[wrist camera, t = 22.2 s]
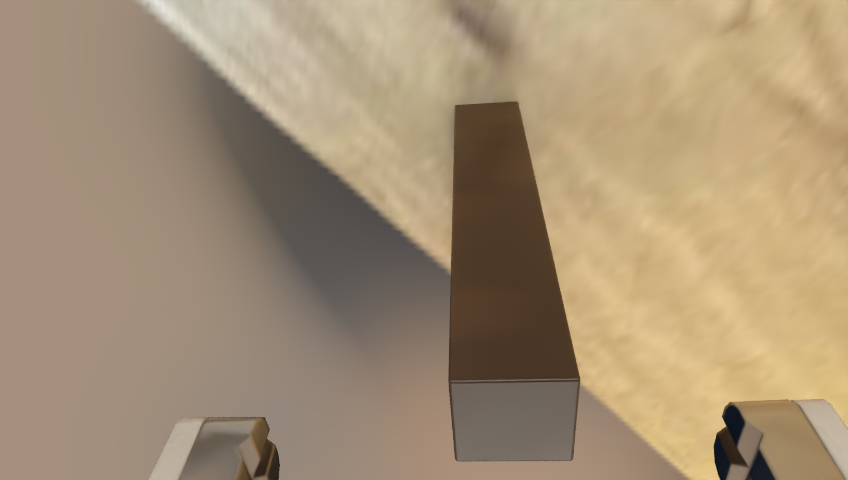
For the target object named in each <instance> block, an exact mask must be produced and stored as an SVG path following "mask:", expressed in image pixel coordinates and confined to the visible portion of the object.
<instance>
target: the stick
mask: <svg viewBox="0 0 848 480" xmlns="http://www.w3.org/2000/svg"><path fill="white" fill-rule="evenodd" d="M449 341H450V342H449V393H450V405H451V416H452V428H453V440H454V451H455V459H456V461H571V460H572V459H573V453H574V442H575V431H576V420H577V410H578V399H579V388H580V376H579V371H578V367H577V362H576V358H575V353H574V349H573V344H572V340H571V336H570V331H569V327H568V322H567V318H566V313H565V309H564V304H563V300H562V296H561V291H560V287H559V282H558V278H557V273H556V269H555V264H554V260H553V256H552V251H551V247H550V242H549V238H548V233H547V229H546V224H545V220H544V216H543V211H542V207H541V202H540V198H539V193H538V189H537V184H536V180H535V176H534V171H533V167H532V162H531V158H530V153H529V149H528V144H527V140H526V136H525V131H524V127H523V122H522V118H521V113H520V109H519V104H518V102H502V103H485V104H469V105H456V106H455V124H454V167H453V210H452V253H451V297H450V339H449Z"/></svg>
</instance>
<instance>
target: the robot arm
mask: <svg viewBox="0 0 848 480" xmlns="http://www.w3.org/2000/svg"><path fill="white" fill-rule="evenodd" d="M722 417H723V419H724V422H725V424H726V427H725V428H723V429H722V430H721V431H719V432H718V433H717V435H716V439H715V443H714V457H715V464H716V468H717V472H718V475H719V478H720V480H848V428H847V426H846V425H845V423H844V422H843V421H842V419H841V418H840V416H839V415H838V413H837V412H836V411H835V409H834V408H833V406H832V405H831V404H830V403H829V402H827V401H826V400H824V399H812V400H791V401H790V400H767V401H744V402H730V403H729V404H728V405H726V406H725V409H724V412H723V415H722ZM269 430H270V429H269V427H268V424H267V422H266V419H265V418H264V417H263V418H262V417H228V418H227V417H208V418H181V419H180V420H179V421H178V422H177V423H176V424H175V426H174V427H173V429H172V431H171V433H170V436H169V437H168V440H167V442H166V444H165V446H164V448H163V450H162V453H161V454H160V456H159V459H158V461H157V463H156V465H155V467H154V469H153V471H152V473H151V476H150V478H149V480H278V479H279V467H280V464H279V456H278V452H277V449H276V446H275V444H273V443H272V442H270V441H269V440H268V439H267V436H268V433H269Z"/></svg>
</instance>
